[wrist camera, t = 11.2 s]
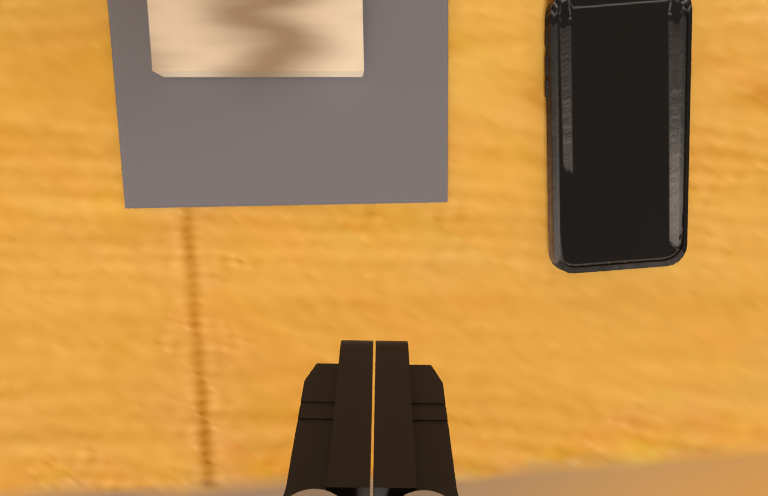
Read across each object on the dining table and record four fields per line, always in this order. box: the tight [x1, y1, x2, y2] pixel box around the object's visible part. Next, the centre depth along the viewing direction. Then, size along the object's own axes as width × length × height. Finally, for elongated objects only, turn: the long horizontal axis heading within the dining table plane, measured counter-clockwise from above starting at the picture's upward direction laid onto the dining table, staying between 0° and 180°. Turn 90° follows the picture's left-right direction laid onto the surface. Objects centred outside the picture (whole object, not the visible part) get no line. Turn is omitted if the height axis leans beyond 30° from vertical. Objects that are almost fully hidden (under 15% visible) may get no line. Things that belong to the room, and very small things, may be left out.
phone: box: [545, 0, 692, 273], centre depth 29 cm, size 8×1×15 cm
